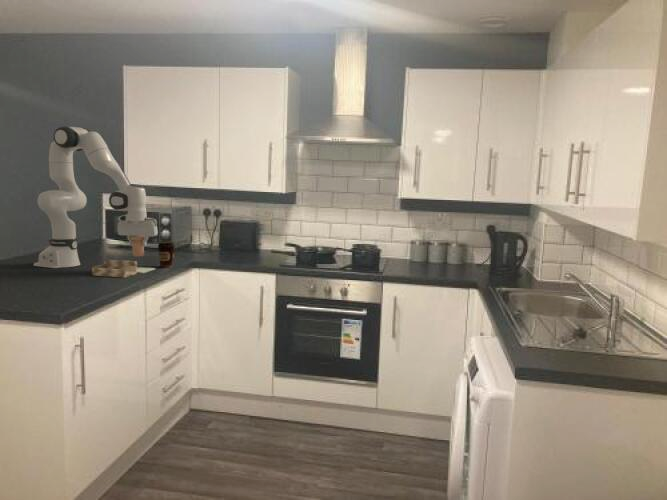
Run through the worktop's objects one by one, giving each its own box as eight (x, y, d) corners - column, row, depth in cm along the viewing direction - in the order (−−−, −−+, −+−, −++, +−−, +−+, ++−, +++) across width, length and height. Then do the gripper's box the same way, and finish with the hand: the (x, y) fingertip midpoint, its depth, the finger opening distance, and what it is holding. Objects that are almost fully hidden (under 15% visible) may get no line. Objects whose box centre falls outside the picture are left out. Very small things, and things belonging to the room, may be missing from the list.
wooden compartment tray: (92, 275, 275) (91, 262, 274) (105, 271, 286) (105, 259, 285) (124, 277, 272) (124, 264, 271) (137, 273, 283) (136, 261, 282)
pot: (129, 256, 287) (128, 237, 286) (135, 254, 293) (135, 235, 292) (140, 256, 286) (140, 237, 284) (147, 255, 292) (147, 236, 291)
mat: (121, 271, 286) (121, 270, 286) (133, 267, 298) (133, 266, 298) (143, 273, 284) (143, 272, 284) (155, 269, 295) (155, 268, 295)
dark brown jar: (169, 268, 298) (169, 243, 296) (154, 267, 299) (154, 242, 297) (177, 266, 306) (177, 241, 304) (163, 265, 308) (162, 241, 306)
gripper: (159, 217, 288) (160, 244, 290) (122, 216, 292) (123, 243, 294) (153, 218, 282) (154, 246, 284) (115, 217, 286) (116, 244, 288)
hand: (138, 244), depth 289 cm, fingers closed on pot, 5 cm apart
